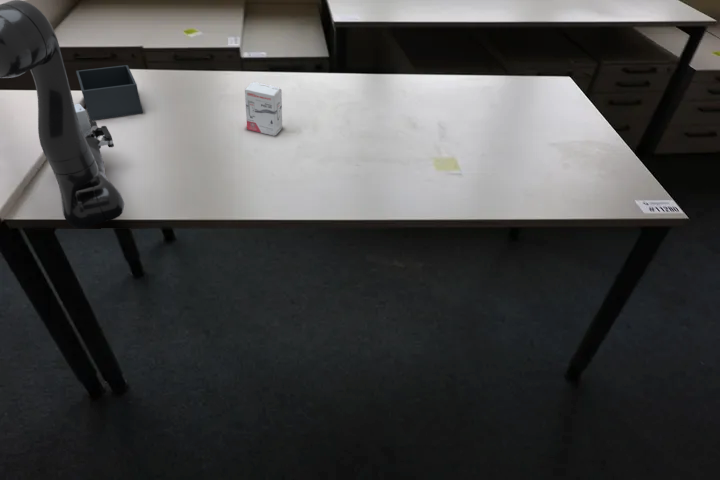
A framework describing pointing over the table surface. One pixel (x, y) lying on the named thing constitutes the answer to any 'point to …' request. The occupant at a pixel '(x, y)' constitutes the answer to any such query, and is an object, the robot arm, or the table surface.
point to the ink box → (263, 108)
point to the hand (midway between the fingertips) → (74, 125)
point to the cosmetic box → (82, 117)
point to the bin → (109, 92)
